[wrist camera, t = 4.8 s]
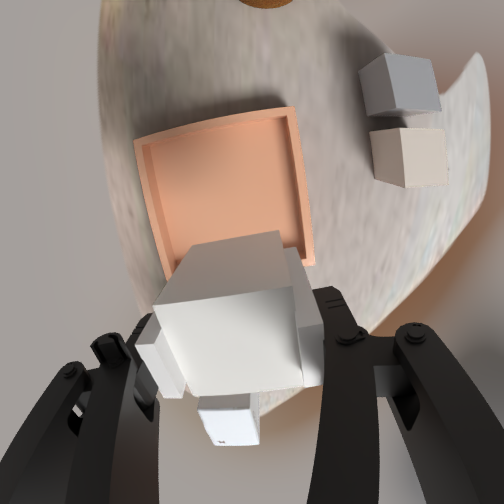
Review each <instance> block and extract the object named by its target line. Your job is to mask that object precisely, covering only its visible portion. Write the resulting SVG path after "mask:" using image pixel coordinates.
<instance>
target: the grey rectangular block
mask: <svg viewBox="0 0 504 504" xmlns="http://www.w3.org/2000/svg"><path fill="white" fill-rule="evenodd" d="M358 74H359V78H360V83H361V88H362V92H363V98H364V103H365V108H366V114H367V116H401V117H408V116H414V115H420V114H427V113H434V112H441V111H442V110H441V104H440V99H439V94H438V90H437V85H436V80H435V76H434V72H433V68H432V64H431V60H429V59H424V58H418V57H412V56H405V55H398V54H390V53H383V54H382V55H380V56H379V57H377V58H376V59H375V60H373V61H372V62H370V63H369V64H368V65H366V66H365V67H364V68H362V69H361V70H360V71H358Z"/></svg>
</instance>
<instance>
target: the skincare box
mask: <svg viewBox="0 0 504 504" xmlns="http://www.w3.org/2000/svg"><path fill="white" fill-rule="evenodd" d="M197 411H198V413H199V415H200V417H201V420H202V422H203V424H204V427H205V430H206V432H207V433H208V434H209V436H210V438H211V440H212V442H213V444H214V445H218V446H220V445H221V446H240V445H258V444H259V392H255V393H244V394H231V395H215V396H200V398H199V403H198V408H197Z"/></svg>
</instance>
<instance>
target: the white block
mask: <svg viewBox="0 0 504 504" xmlns="http://www.w3.org/2000/svg"><path fill="white" fill-rule="evenodd" d="M153 309H154V311H155V314H156V316H157V319H158V321H159V323H160V326H161V328H162V330H163V332H164V335H165V337H166V339H167V341H168V344H169V346H170V348H171V350H172V353H173V355H174V357H175V359H176V361H177V364H178V366H179V368H180V370H181V372H182V374H183V376H184V378H185V380H186V382H187V384H188V386H189V388H190V390H191V392H192V394H193V396H215V395H231V394H244V393H255V392H264V391H272V390H280V389H287V388H294V387H300V386H304V382H303V376H302V369H301V360H300V352H299V344H298V336H297V328H296V321H295V313H294V311H296V308H295V300H294V293H293V286H292V282H291V277H290V273H289V269H288V265H287V261H286V257H285V252H284V248H283V244H282V240H281V236H280V232H279V230H275V231H269V232H263V233H257V234H252V235H246V236H240V237H235V238H229V239H224V240H218V241H213V242H207V243H202V244H197V245H192V246H191V248H190V249H189V251H188V252H187V254H186V255H185V257H184V258H183V260H182V261H181V262H180V264H179V265H178V267H177V268H176V270H175V272H174V273H173V275H172V276H171V278H170V279H169V281H168V282H167V284H166V285H165V287H164V288H163V290H162V291H161V293H160V295H159V296H158V298H157V299H156V301H155V302H154V304H153Z"/></svg>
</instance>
